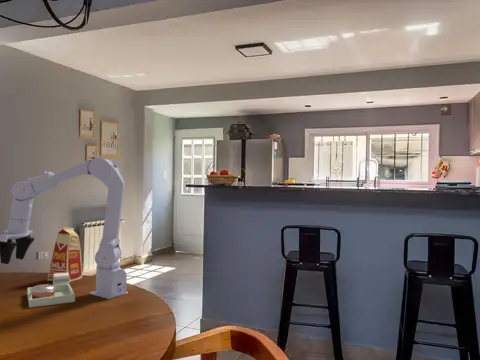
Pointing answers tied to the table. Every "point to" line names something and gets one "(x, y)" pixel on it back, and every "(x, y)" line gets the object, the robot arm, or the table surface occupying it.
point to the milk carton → (66, 255)
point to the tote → (61, 296)
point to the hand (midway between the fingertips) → (12, 261)
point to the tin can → (43, 291)
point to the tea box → (61, 278)
